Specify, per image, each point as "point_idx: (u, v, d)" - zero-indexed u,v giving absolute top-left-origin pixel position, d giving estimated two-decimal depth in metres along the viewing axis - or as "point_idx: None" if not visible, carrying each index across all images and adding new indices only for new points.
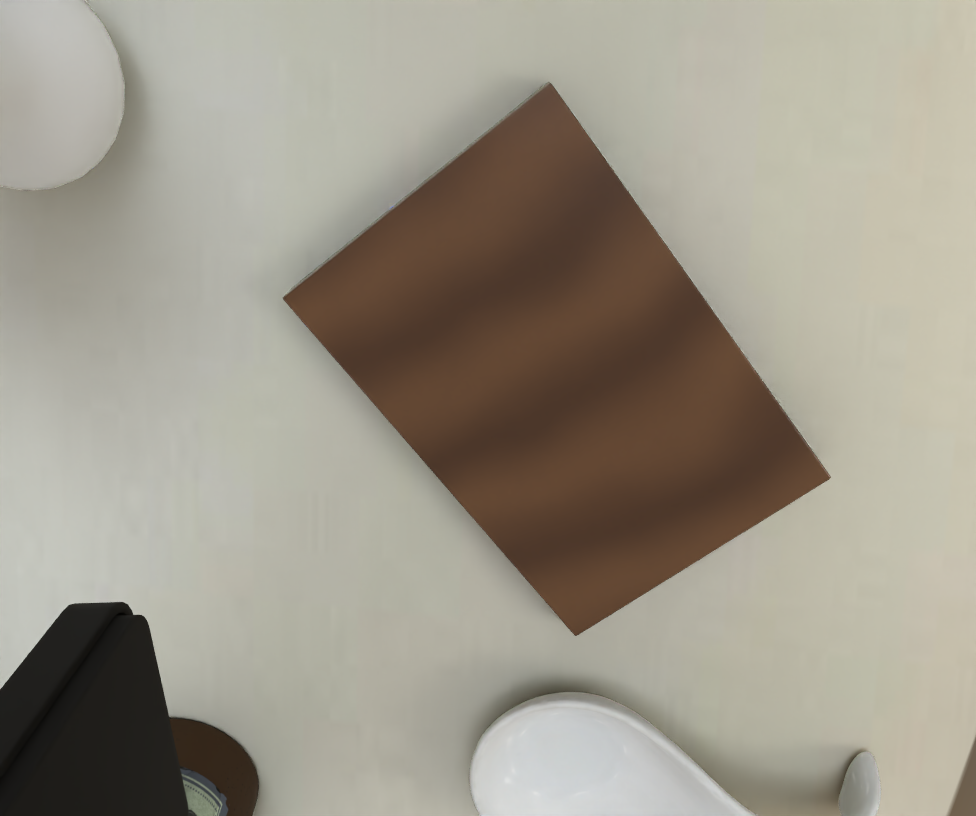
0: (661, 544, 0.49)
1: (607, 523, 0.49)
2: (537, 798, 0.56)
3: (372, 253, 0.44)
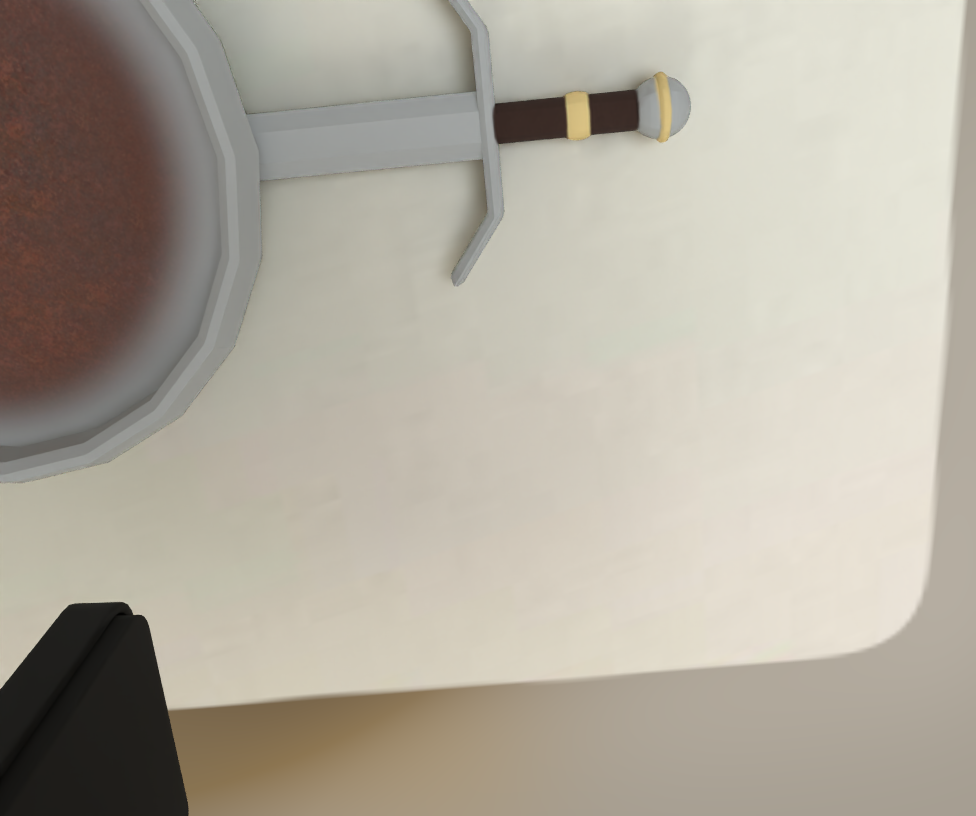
0: None
1: None
2: None
3: None
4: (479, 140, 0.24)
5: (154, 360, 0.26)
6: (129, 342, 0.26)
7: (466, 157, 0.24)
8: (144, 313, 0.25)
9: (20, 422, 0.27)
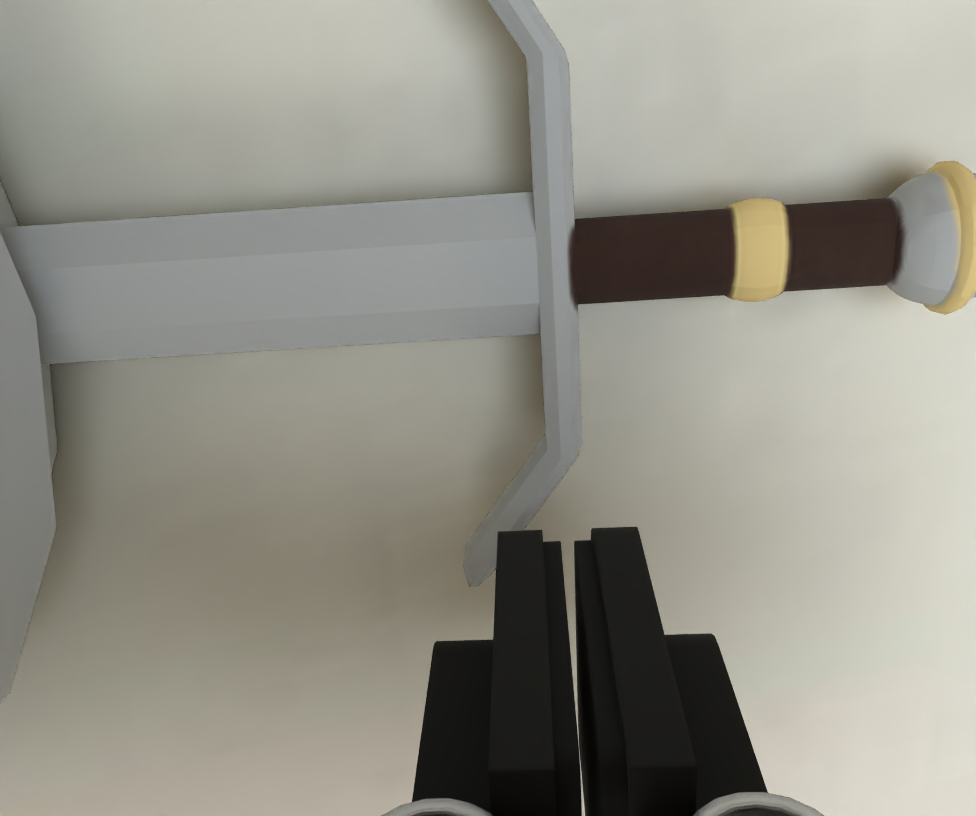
0: None
1: None
2: None
3: None
4: (536, 299, 0.11)
5: None
6: None
7: (503, 330, 0.11)
8: None
9: None
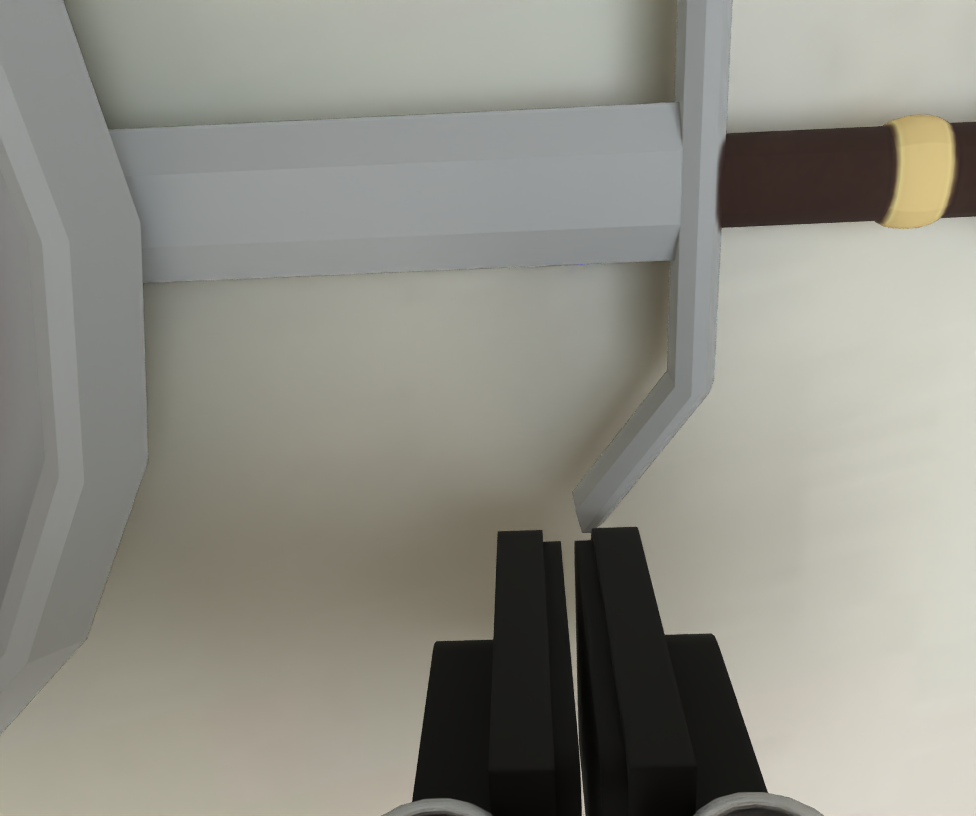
0: None
1: None
2: None
3: None
4: (677, 219, 0.10)
5: None
6: None
7: (635, 255, 0.10)
8: None
9: None
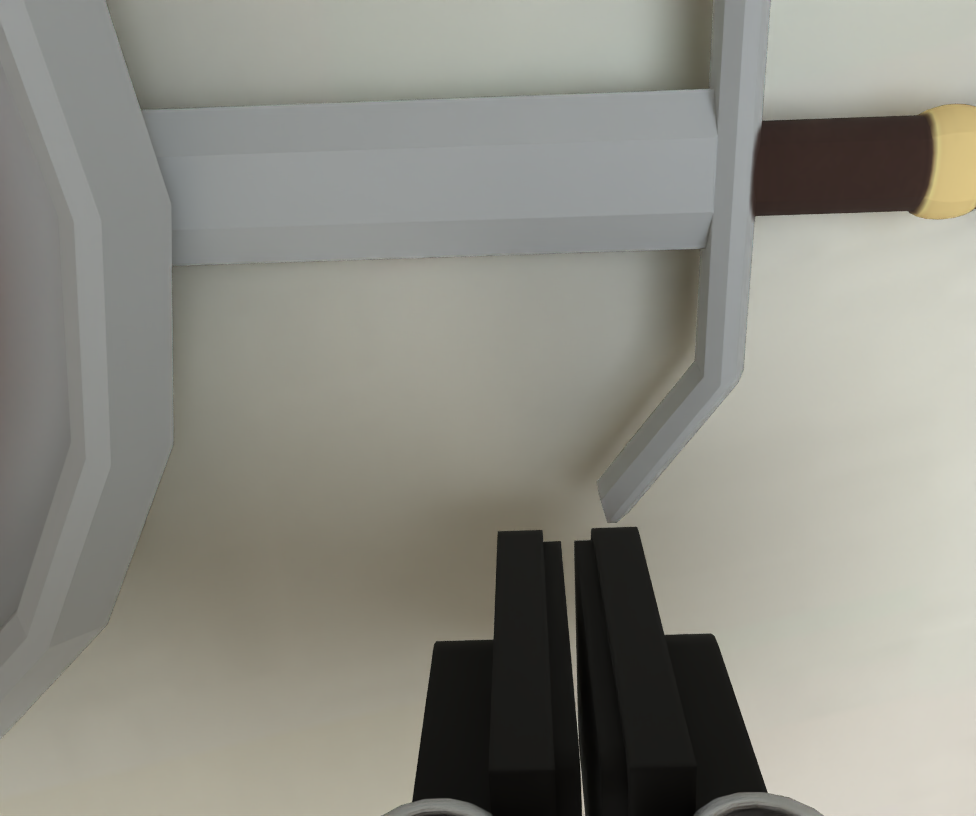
0: None
1: None
2: None
3: None
4: (710, 207, 0.10)
5: None
6: None
7: (666, 244, 0.10)
8: None
9: None
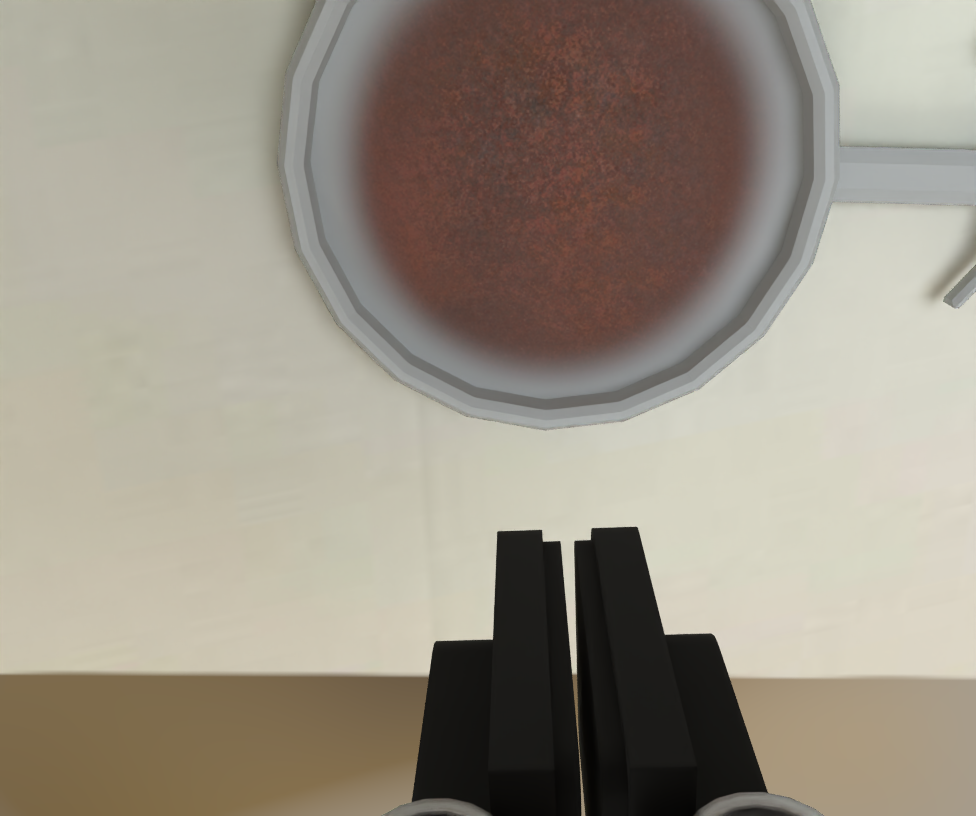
0: None
1: None
2: None
3: None
4: None
5: (683, 340, 0.31)
6: (668, 321, 0.30)
7: None
8: (689, 299, 0.30)
9: (551, 378, 0.31)
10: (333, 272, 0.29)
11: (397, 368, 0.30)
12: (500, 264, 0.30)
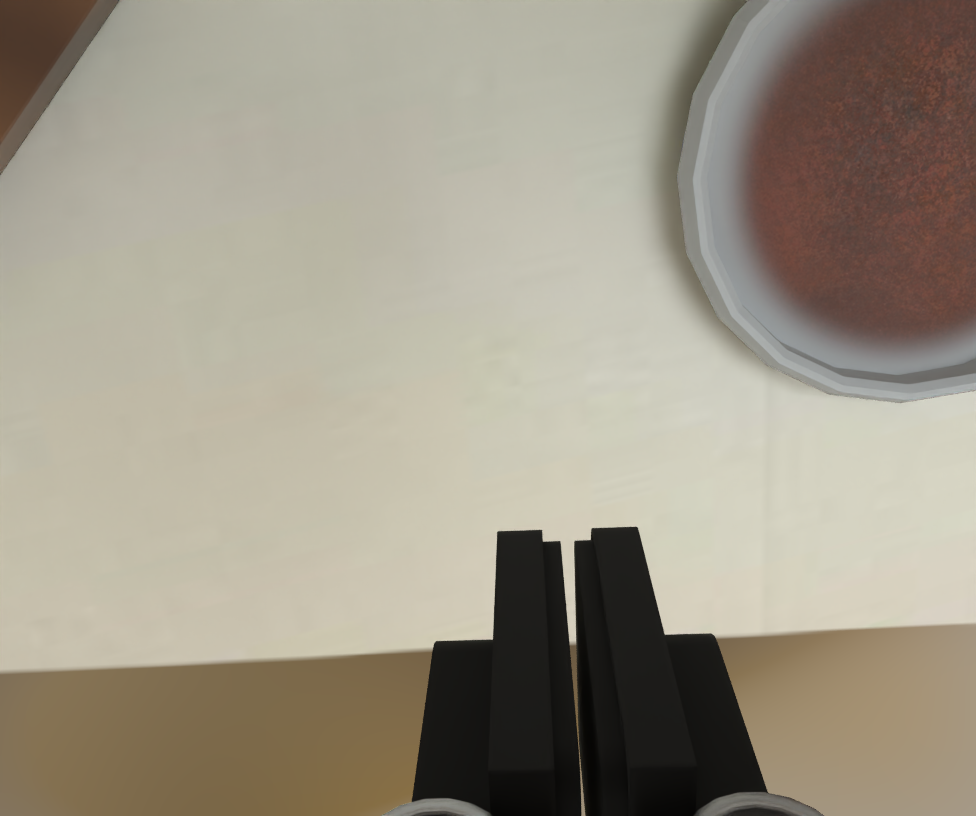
0: None
1: None
2: None
3: None
4: None
5: None
6: None
7: None
8: None
9: (905, 355, 0.35)
10: (725, 271, 0.33)
11: (778, 354, 0.33)
12: (866, 255, 0.33)
